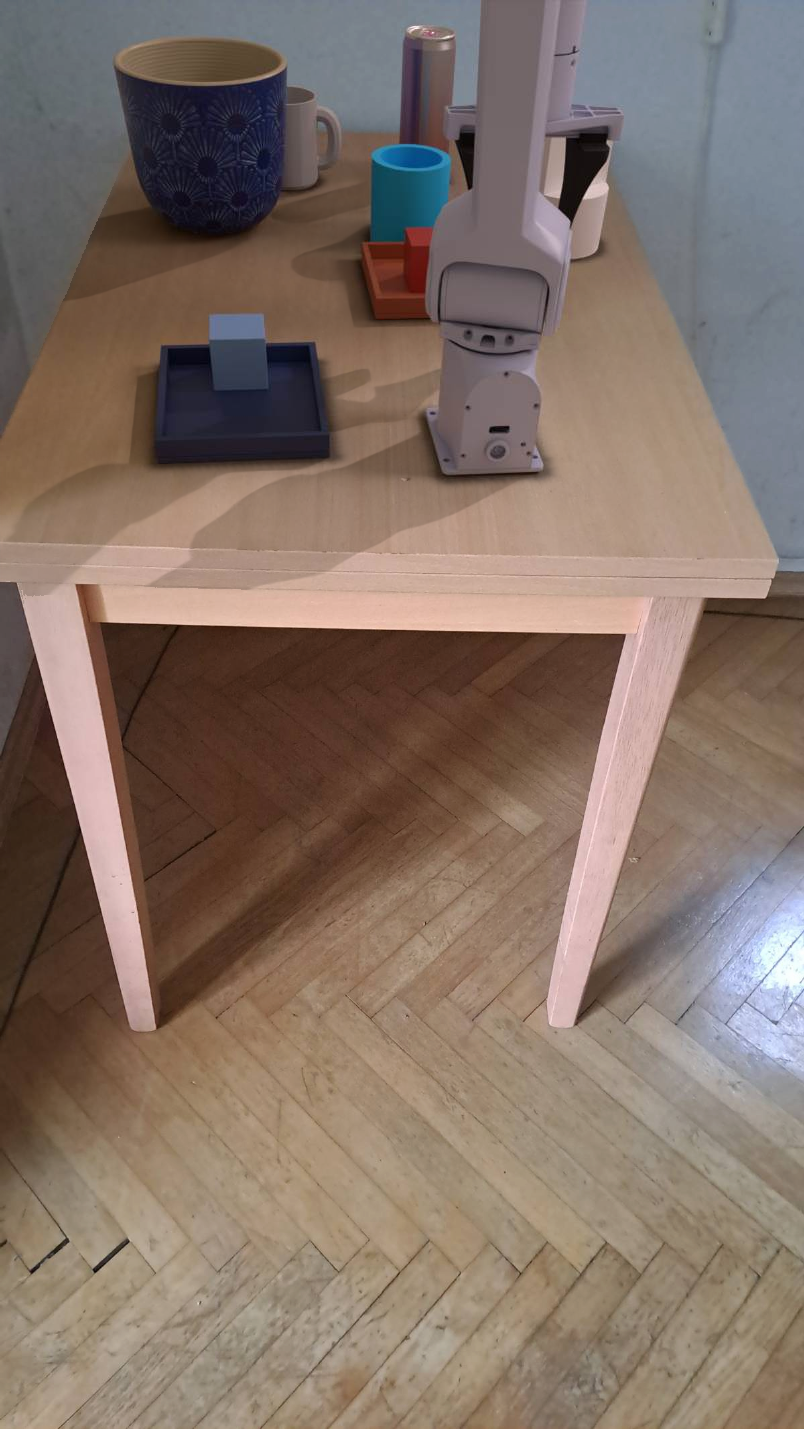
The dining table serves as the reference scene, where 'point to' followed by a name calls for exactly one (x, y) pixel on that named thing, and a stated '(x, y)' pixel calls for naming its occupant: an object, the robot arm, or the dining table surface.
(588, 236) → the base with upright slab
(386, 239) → the mug
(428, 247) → the red block
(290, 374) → the blue tray
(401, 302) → the tray
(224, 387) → the blue block
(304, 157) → the cup
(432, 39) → the beverage can
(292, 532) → the dining table surface
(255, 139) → the planter
